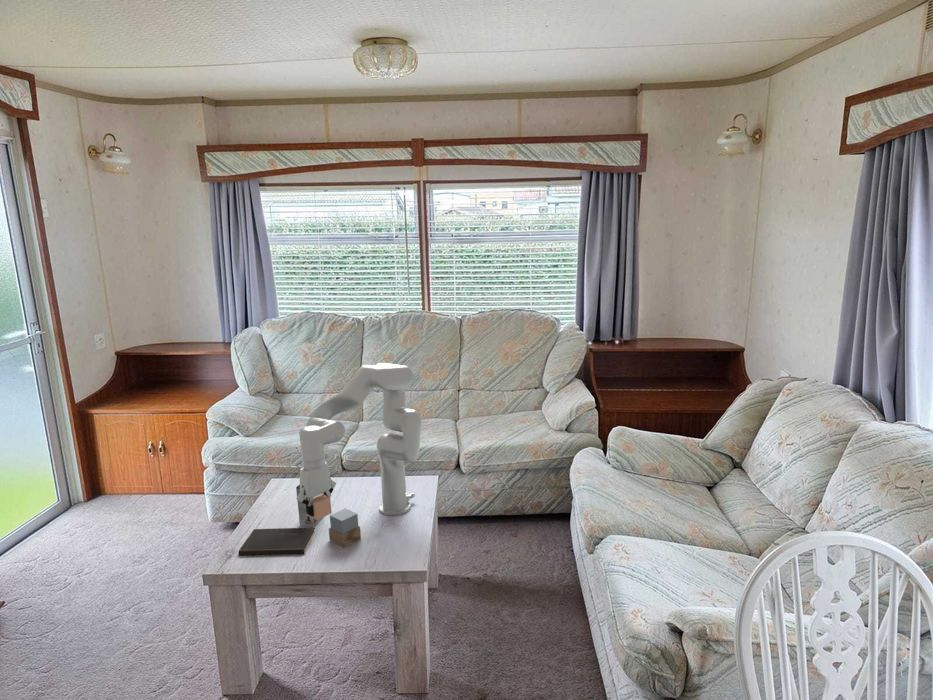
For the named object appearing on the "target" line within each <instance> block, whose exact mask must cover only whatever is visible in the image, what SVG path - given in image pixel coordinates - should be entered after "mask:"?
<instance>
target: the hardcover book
mask: <svg viewBox="0 0 933 700" xmlns="http://www.w3.org/2000/svg"><path fill="white" fill-rule="evenodd" d="M315 530H316V527H285V528H284V527H283V528H280V527H279V528H254V529H253V530H252V532H250V534H249V536H248V537H247V538H246V539H245V541H244V542H243V544H242V545H241V547H240V548H239V550H238V552H237V553H238V557H251V556H253V557H254V556H259V557H260V556H293V555H295V556H296V555H305V552H306V550H307V549H308V546H309V544H310V542H311V540H312V539H313V537H314V535H315Z"/></svg>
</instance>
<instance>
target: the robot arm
mask: <svg viewBox="0 0 933 700" xmlns="http://www.w3.org/2000/svg"><path fill="white" fill-rule="evenodd" d="M413 379H414V373H413V370H412V369H411V368H410V367H409V366H407V365H403V364H395V363H388V362H378V363H376V364H374V365H373V364H364V365H363V364H362V365H361V366H360V367H359V368H358V369H357V370H356V372H355V373H354V375H353V376H352V377H351V378H350V380H349V381H348V383H347V384H346V385H345V387H344V388H343V390H341V392H339V393H337V394H336V395H334V396H332V397H331V398H329V399H327V400H326V401H325V400H324V402H323V403H321V404H320V405H318V407H317V408H316V409H315V410H314V411H313V412H312V414H311V415H310V417H309V418H308V420H307V422H306V425H305V426H304V427H302V428H301V429H300V430H299V432H298V433H299V443H300V444H299V445H300V454H301V455H300V456H301V463H302V467H301V468H300V469H299V470H300V471H299V472H300V473H299V484H300V493H299V495H298V496H297V495H296V498H295V499H296V501H297V500H298V501H300V502H302V503H304V504H305V505H306V512H307V514H308V515H310V516H312V517H313V516H314V510H313V505H311V504H312V500H313V497H315V496H317V495H319V494H322V493H323V494H324V495H326V496H328V497H330V498H331V496H332V493H333V491H334V489H335V487H336V486H337V482H336V481H334V480H333V479H332V477H331V473H330V469H329V465H328V463H327V462H326V459H327V458H328V457H329V456H328V454H326V453H325V446H327V445H332V444H335V443H338V442H340V441H341V440H342V439H343V438H344V437H345V434H346V427H345V426H344V424H343V423H342V422H341V421H338V420H334V419H333V418H334V417H336V415H339V414H343V413H346V412H350V411H352V410H356V409H358V408H360V407H361V406H362V405H363V403H364V402H365V400H366V399H367V398H368V396H369V395H370V394H371V392H372V390H381V391H382V393H383V395H382V396H383V403H382V404H383V405H382V425H383V427H384V428H385V429H387V430H389V431H392V432H393V433H392V432H386V433H382V434H381V435H380V436H378V439H377V442H376V450H377V454H378V458H379V465H380V478H381V479H380V480H381V497H382V503H381V504H380V505H379V506H378V511H379V512H380V513H381V514H383V515H385V516H399V515H400V516H401V515H403V514H405V513H408V512H409V511H410V509H411V503H410V502H409V501H410V500H411V499H413V498H415V496H416V494H415V493H414V492H411V493H408V492H407V486H406V469H405V468H406V467H405V463H404V462H407V463H409V462H413V461H415V460H416V459H417V458H418V456H419V453H420V447H421V438H422V437H421V435H422V418H421V415H420V414H419V412H418V411H417V410H415V409H414V408H413V409H412V408H407V407H406V392H405V388H407V387H409V386H410V385H411V384H412V382H413ZM394 432H399V433H402V434H398V433H394ZM304 495H305V499H303V496H304ZM308 499H309V500H308ZM298 501H297V502H298Z"/></svg>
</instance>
